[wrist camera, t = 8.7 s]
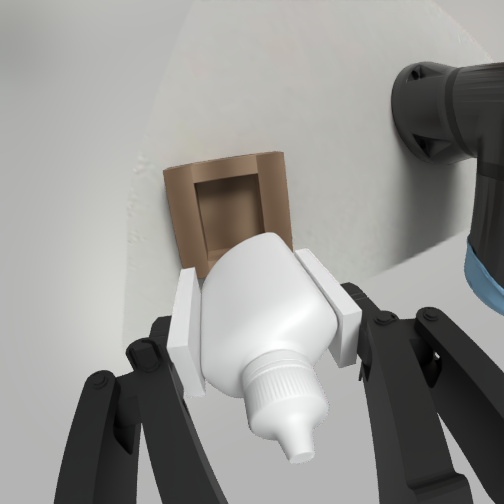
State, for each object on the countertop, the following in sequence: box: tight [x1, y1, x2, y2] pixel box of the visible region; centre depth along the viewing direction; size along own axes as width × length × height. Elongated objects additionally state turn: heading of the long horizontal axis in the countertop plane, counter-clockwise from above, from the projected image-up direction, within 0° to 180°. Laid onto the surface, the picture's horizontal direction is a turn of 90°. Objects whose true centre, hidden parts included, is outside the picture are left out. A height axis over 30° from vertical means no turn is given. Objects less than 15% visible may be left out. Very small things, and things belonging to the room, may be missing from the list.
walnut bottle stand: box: [163, 151, 293, 279], centre depth 31 cm, size 12×12×4 cm
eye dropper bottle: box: [201, 232, 338, 464], centre depth 11 cm, size 4×6×12 cm
